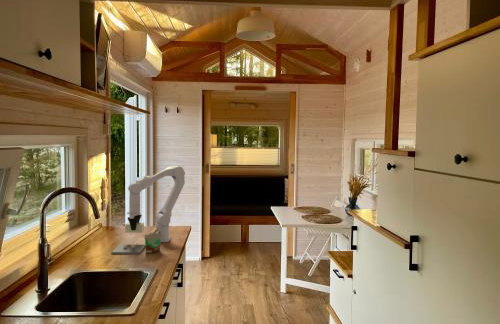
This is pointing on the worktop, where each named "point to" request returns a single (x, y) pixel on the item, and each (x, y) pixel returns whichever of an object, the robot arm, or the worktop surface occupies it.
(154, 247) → the food container
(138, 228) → the housing cap
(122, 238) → the worktop surface
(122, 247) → the stub board
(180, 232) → the worktop surface
